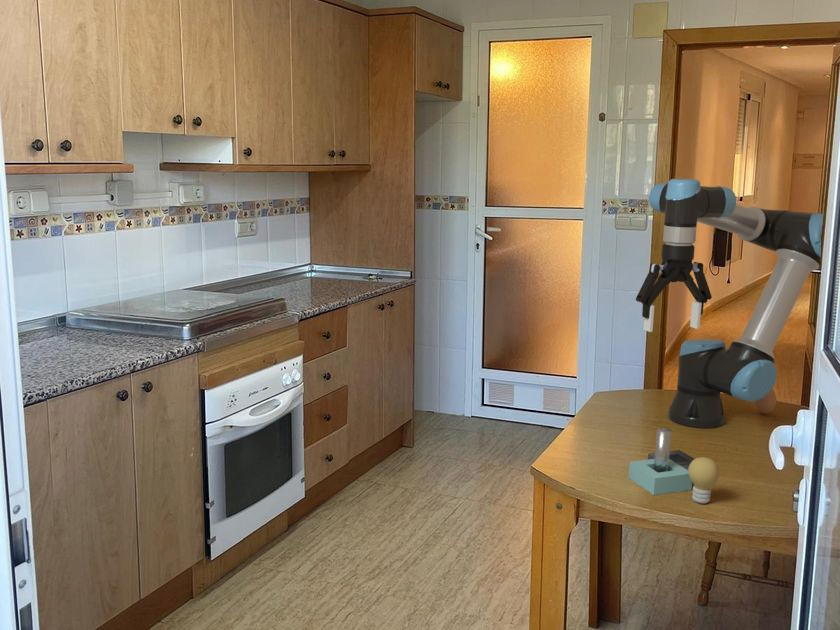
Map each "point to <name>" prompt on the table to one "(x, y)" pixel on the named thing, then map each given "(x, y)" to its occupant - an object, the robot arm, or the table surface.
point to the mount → (677, 458)
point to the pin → (662, 450)
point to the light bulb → (702, 478)
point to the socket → (660, 477)
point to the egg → (766, 403)
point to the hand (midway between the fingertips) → (671, 329)
